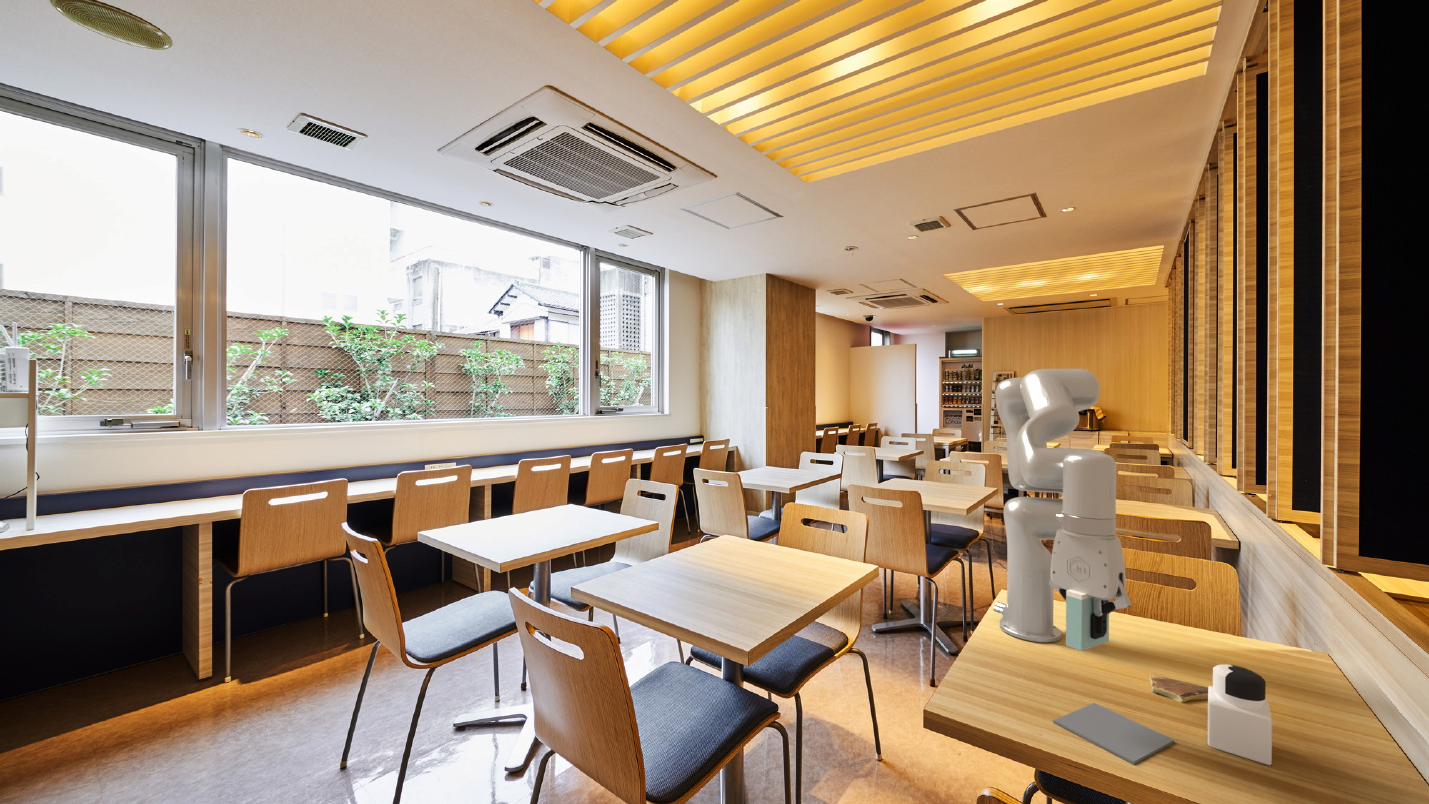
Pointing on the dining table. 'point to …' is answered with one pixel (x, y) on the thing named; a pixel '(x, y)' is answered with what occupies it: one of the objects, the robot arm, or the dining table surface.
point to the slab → (1081, 621)
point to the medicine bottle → (1239, 714)
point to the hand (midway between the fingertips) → (1087, 632)
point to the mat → (1114, 732)
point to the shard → (1178, 689)
